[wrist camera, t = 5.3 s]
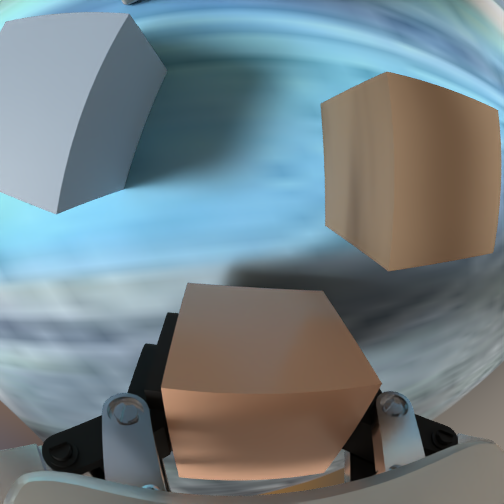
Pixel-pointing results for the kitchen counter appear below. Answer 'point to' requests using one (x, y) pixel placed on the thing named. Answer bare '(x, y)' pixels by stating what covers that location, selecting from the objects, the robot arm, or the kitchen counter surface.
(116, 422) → the robot arm
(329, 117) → the walnut cube
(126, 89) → the slate cube
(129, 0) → the coffee box
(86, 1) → the kitchen counter surface
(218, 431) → the terracotta cube
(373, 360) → the kitchen counter surface
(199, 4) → the kitchen counter surface
